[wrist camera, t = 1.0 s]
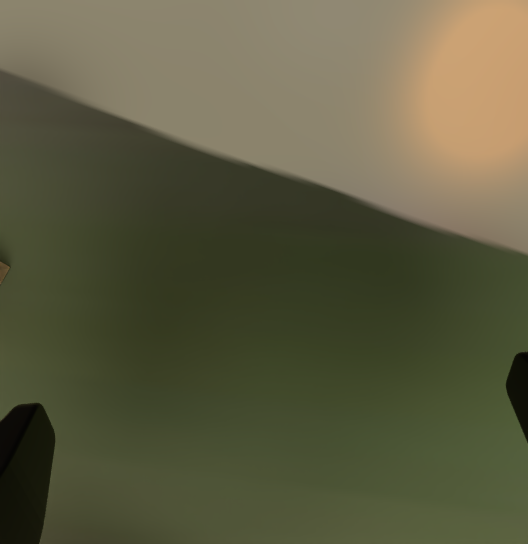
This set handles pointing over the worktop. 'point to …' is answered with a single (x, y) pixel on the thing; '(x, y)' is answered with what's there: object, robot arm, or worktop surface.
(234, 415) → the worktop surface
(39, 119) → the worktop surface
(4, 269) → the pine frame
